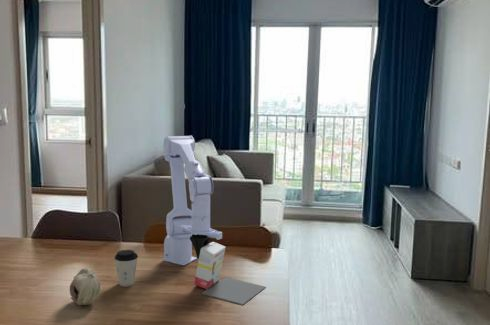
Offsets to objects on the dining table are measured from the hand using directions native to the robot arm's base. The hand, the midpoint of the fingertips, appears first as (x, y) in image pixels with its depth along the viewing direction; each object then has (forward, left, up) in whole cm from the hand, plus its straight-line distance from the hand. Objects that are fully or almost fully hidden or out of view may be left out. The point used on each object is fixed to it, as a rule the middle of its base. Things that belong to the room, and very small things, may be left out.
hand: (200, 257), depth 143 cm
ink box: (+2, 0, -8) cm, 8 cm away
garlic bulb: (-19, -29, -8) cm, 35 cm away
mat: (+12, 0, -8) cm, 15 cm away
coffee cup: (-19, -13, -8) cm, 24 cm away
